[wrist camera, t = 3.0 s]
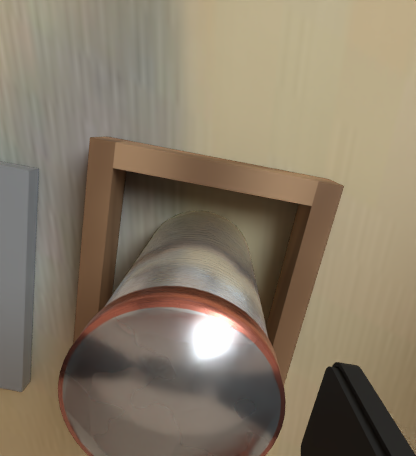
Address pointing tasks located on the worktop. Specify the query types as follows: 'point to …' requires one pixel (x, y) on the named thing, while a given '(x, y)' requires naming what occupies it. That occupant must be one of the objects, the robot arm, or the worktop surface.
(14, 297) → the plate
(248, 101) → the worktop surface
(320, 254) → the pocket frame
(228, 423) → the spice tin
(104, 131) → the worktop surface
